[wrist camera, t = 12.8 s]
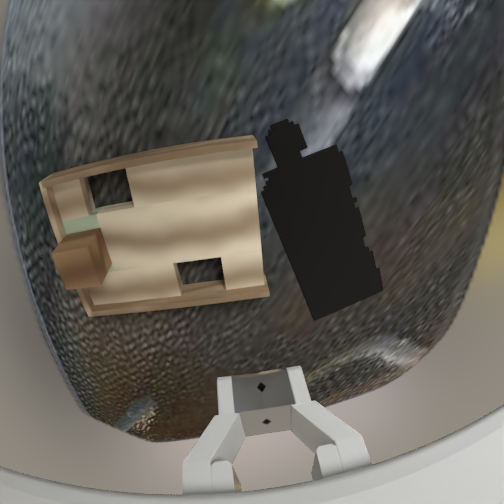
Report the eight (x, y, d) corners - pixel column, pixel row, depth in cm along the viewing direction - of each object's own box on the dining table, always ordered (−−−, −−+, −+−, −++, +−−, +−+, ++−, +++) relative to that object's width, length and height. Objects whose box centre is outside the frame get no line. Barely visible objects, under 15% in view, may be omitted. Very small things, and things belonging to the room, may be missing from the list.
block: (66, 234, 35) (51, 253, 30) (100, 227, 35) (86, 247, 31) (79, 268, 37) (66, 290, 33) (112, 263, 37) (101, 285, 33)
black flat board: (314, 320, 49) (237, 139, 34) (313, 318, 49) (237, 138, 35) (383, 290, 48) (334, 102, 33) (381, 288, 48) (333, 101, 34)
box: (53, 173, 33) (38, 182, 30) (252, 134, 34) (256, 140, 31) (96, 299, 43) (88, 316, 39) (265, 278, 44) (269, 296, 41)
